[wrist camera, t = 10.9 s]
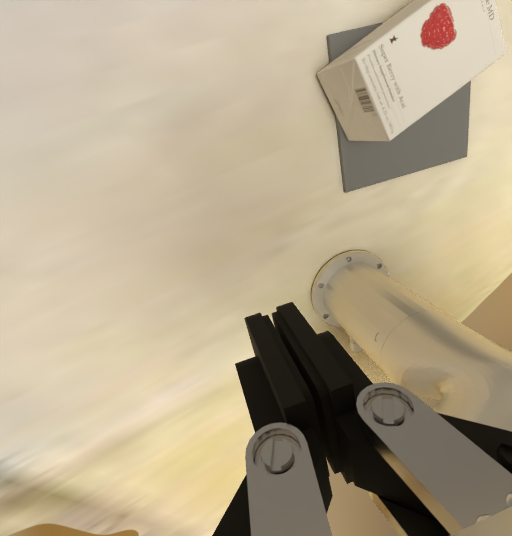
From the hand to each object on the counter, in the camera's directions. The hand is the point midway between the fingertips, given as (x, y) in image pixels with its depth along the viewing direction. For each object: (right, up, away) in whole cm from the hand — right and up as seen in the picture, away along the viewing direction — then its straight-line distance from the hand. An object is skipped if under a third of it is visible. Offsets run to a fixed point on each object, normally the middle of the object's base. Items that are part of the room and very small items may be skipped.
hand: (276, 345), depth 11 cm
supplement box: (+9, +20, +24) cm, 33 cm away
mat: (+18, +24, +31) cm, 43 cm away
